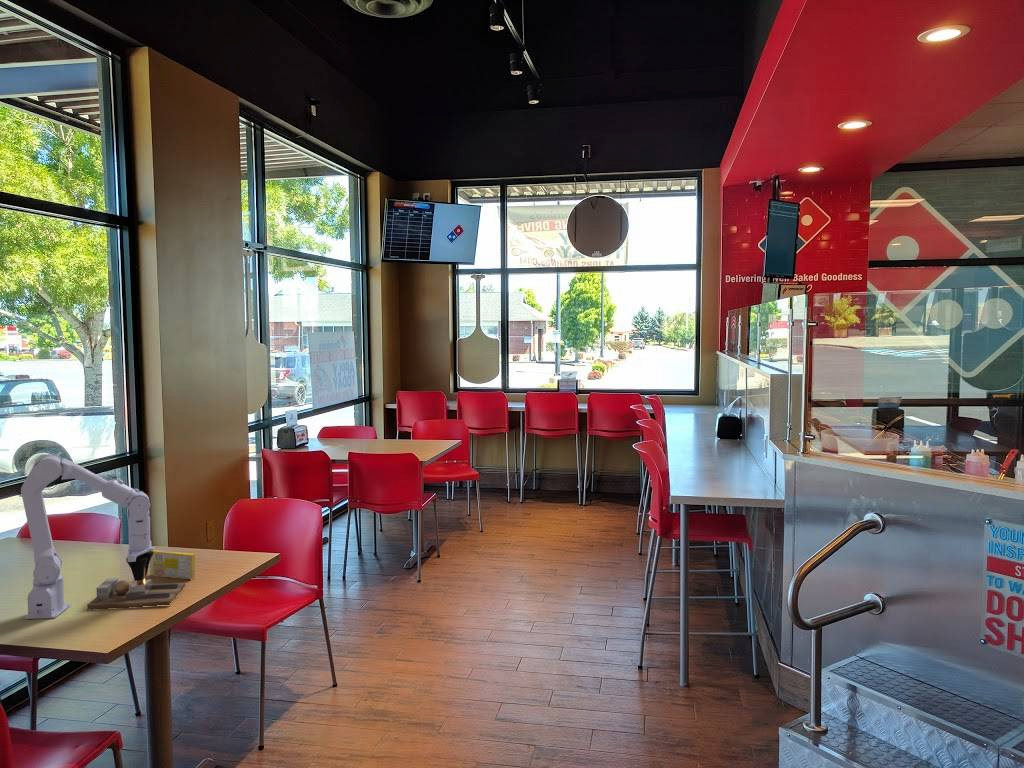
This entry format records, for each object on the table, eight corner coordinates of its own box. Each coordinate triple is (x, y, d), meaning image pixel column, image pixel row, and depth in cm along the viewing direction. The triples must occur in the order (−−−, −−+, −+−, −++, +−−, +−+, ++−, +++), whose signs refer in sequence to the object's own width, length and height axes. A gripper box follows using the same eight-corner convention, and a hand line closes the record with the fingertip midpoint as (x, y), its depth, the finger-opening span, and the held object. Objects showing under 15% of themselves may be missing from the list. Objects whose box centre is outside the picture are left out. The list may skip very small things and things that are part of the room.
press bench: (169, 606, 211) (168, 589, 210) (87, 610, 207) (86, 592, 207) (185, 587, 227) (185, 571, 226) (109, 590, 223) (109, 574, 223)
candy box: (196, 578, 235) (195, 553, 235) (191, 580, 233) (191, 555, 233) (154, 573, 240) (153, 549, 239) (149, 575, 237) (148, 550, 237)
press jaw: (144, 595, 214) (144, 569, 214) (130, 596, 214) (129, 570, 213) (151, 588, 220) (151, 563, 220) (137, 589, 220) (137, 563, 219)
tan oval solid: (127, 596, 215) (126, 582, 214) (112, 596, 214) (112, 583, 214) (131, 591, 218) (131, 578, 218) (117, 591, 218) (117, 578, 218)
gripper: (145, 539, 209) (146, 586, 210) (161, 526, 224) (162, 570, 224) (119, 540, 208) (120, 587, 209) (137, 527, 222) (138, 571, 223)
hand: (140, 578), depth 217 cm, fingers closed on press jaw, 2 cm apart
